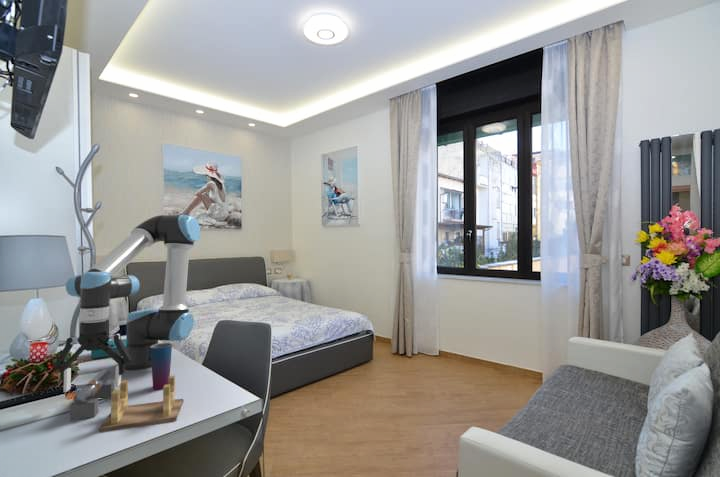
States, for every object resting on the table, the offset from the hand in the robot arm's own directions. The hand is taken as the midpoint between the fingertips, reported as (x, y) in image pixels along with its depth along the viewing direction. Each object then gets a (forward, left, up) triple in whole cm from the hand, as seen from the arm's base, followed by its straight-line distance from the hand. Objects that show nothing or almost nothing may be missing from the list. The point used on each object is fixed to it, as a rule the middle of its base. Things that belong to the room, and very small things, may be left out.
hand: (93, 387), depth 111 cm
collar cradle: (+12, +17, -6) cm, 22 cm away
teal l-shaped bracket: (-60, -11, -6) cm, 62 cm away
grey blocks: (0, 0, -6) cm, 6 cm away
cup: (-10, +17, -6) cm, 21 cm away
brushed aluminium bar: (0, 0, -2) cm, 2 cm away
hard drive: (-25, -11, -7) cm, 28 cm away
